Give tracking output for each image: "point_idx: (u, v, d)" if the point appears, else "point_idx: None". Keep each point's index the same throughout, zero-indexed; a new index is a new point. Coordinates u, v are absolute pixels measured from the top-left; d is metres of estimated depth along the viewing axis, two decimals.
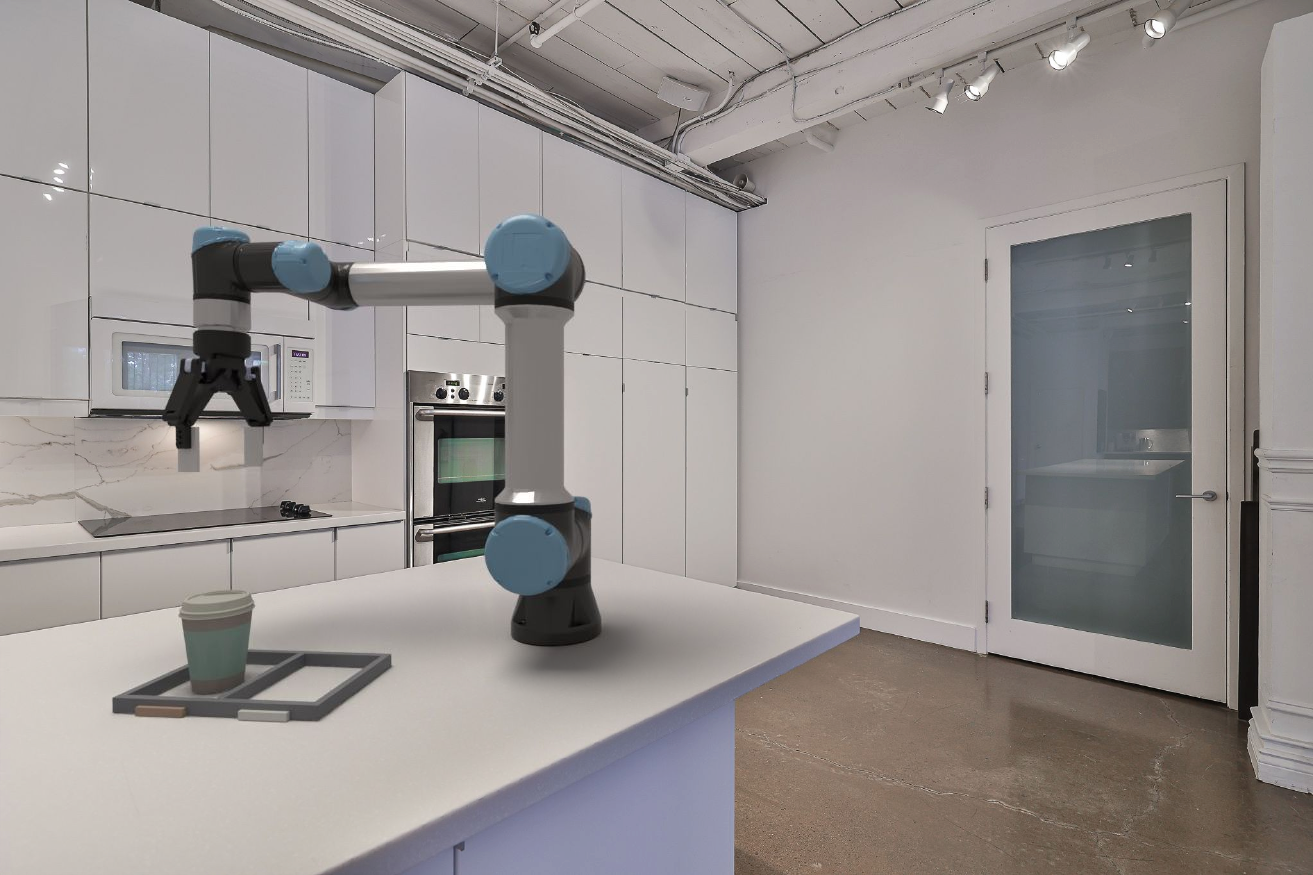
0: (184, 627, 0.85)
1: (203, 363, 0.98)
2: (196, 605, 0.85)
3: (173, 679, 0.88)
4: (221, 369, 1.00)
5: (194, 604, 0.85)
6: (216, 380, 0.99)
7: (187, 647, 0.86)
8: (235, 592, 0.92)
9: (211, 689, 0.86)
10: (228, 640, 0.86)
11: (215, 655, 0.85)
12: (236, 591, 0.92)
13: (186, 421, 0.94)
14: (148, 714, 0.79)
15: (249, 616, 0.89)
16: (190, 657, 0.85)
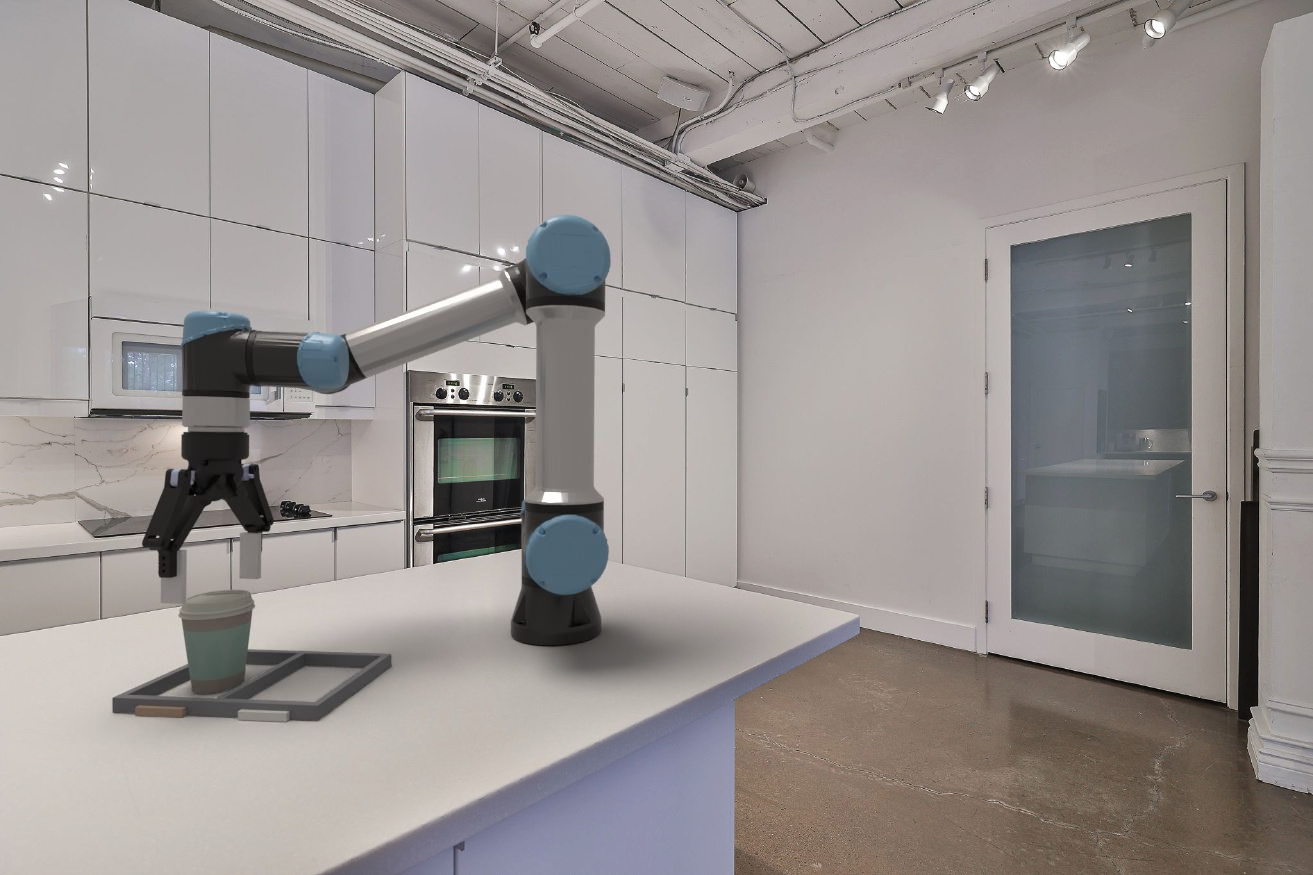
0: (184, 627, 0.85)
1: (193, 472, 0.84)
2: (196, 605, 0.85)
3: (173, 679, 0.88)
4: (214, 476, 0.86)
5: (194, 604, 0.85)
6: (208, 491, 0.85)
7: (187, 647, 0.86)
8: (235, 592, 0.92)
9: (211, 689, 0.86)
10: (228, 640, 0.86)
11: (215, 655, 0.85)
12: (236, 591, 0.92)
13: (171, 546, 0.80)
14: (148, 714, 0.79)
15: (249, 616, 0.89)
16: (190, 657, 0.85)
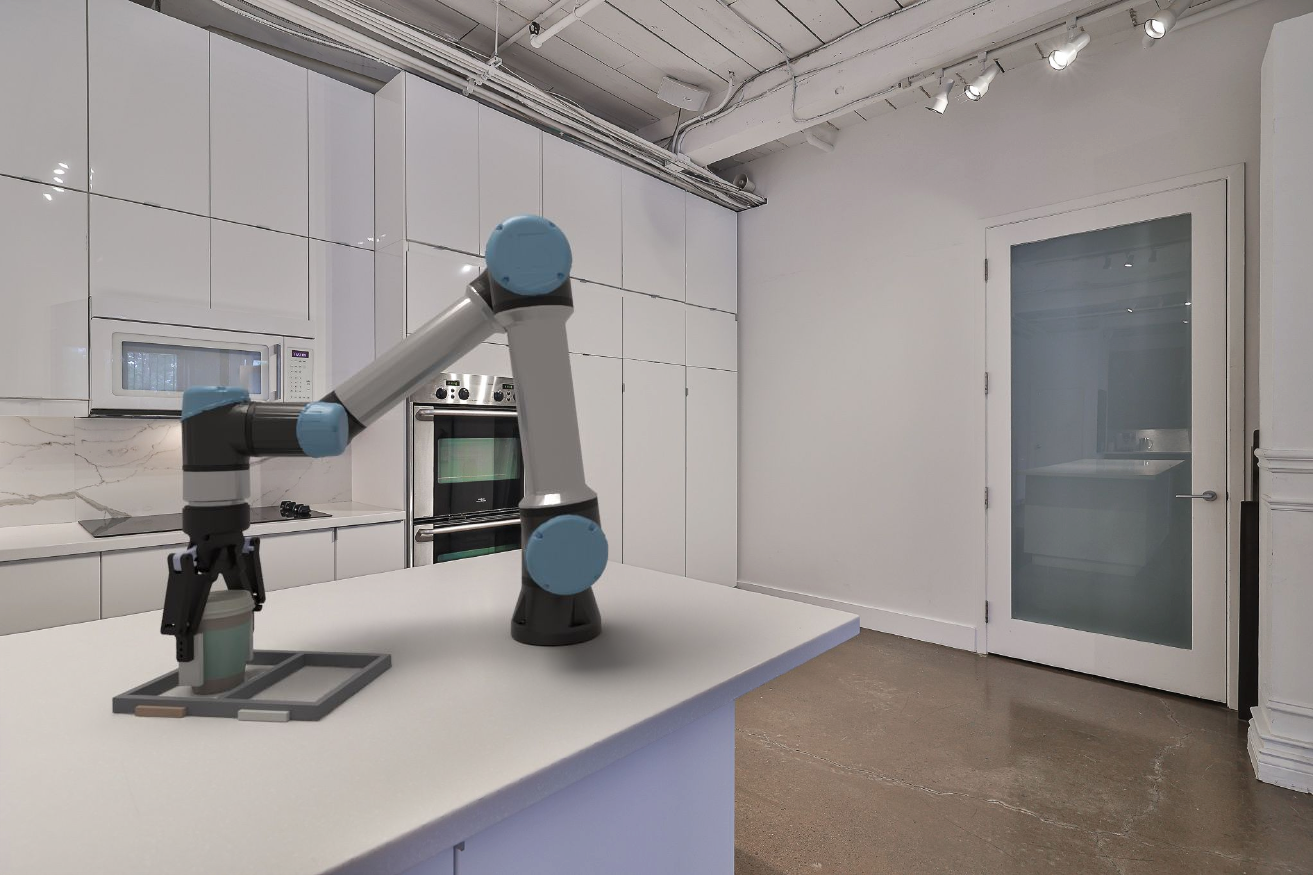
0: None
1: (194, 551, 0.84)
2: None
3: (173, 679, 0.88)
4: (215, 547, 0.86)
5: None
6: (212, 568, 0.85)
7: None
8: (235, 592, 0.92)
9: (211, 689, 0.86)
10: (228, 639, 0.86)
11: (215, 655, 0.85)
12: (236, 591, 0.92)
13: (188, 631, 0.82)
14: (148, 714, 0.79)
15: (249, 616, 0.89)
16: None
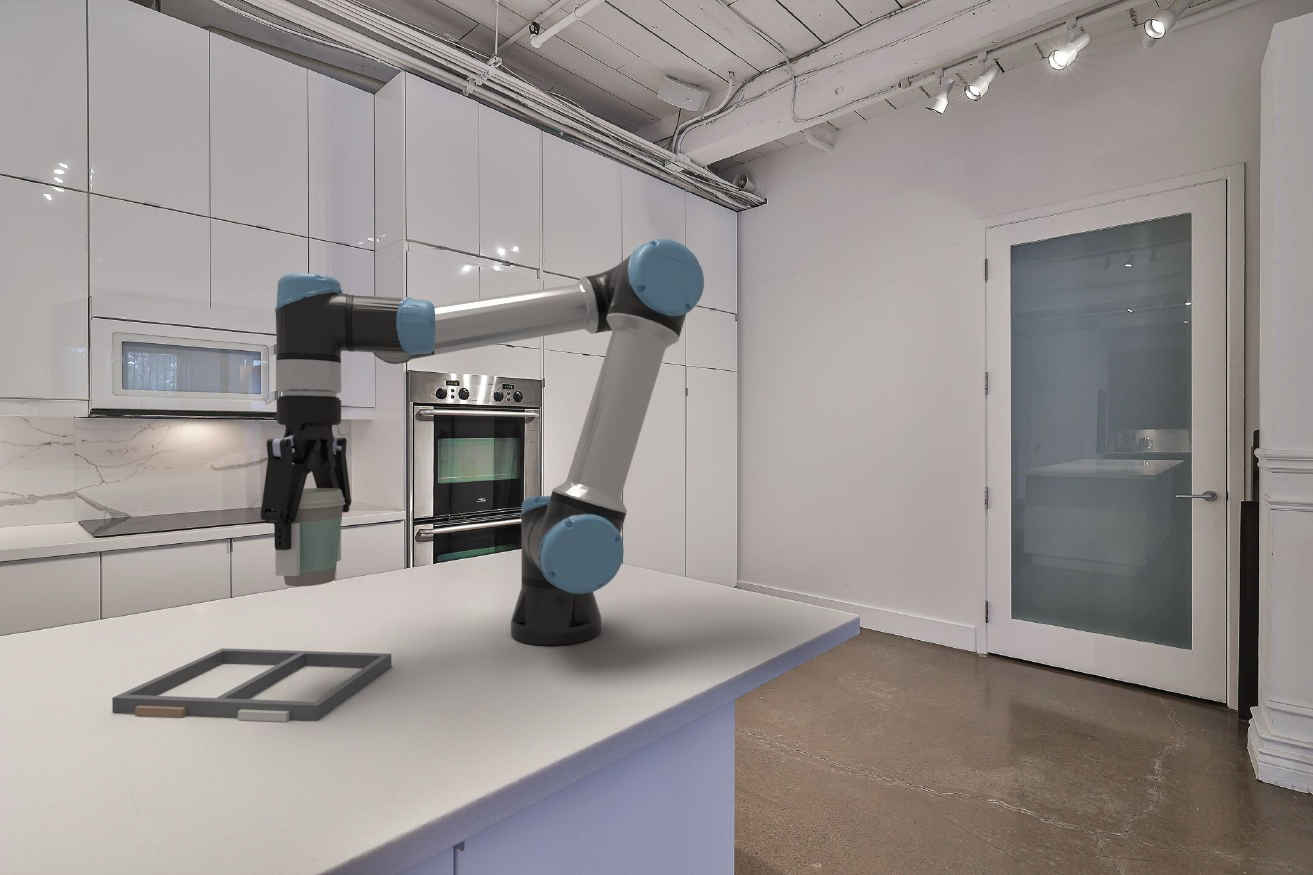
0: None
1: (291, 439, 0.83)
2: None
3: (173, 679, 0.88)
4: (310, 438, 0.85)
5: None
6: (307, 459, 0.84)
7: None
8: (324, 490, 0.90)
9: (306, 581, 0.84)
10: (322, 532, 0.85)
11: (310, 546, 0.84)
12: (325, 489, 0.90)
13: (287, 518, 0.81)
14: (148, 714, 0.79)
15: (341, 511, 0.88)
16: None
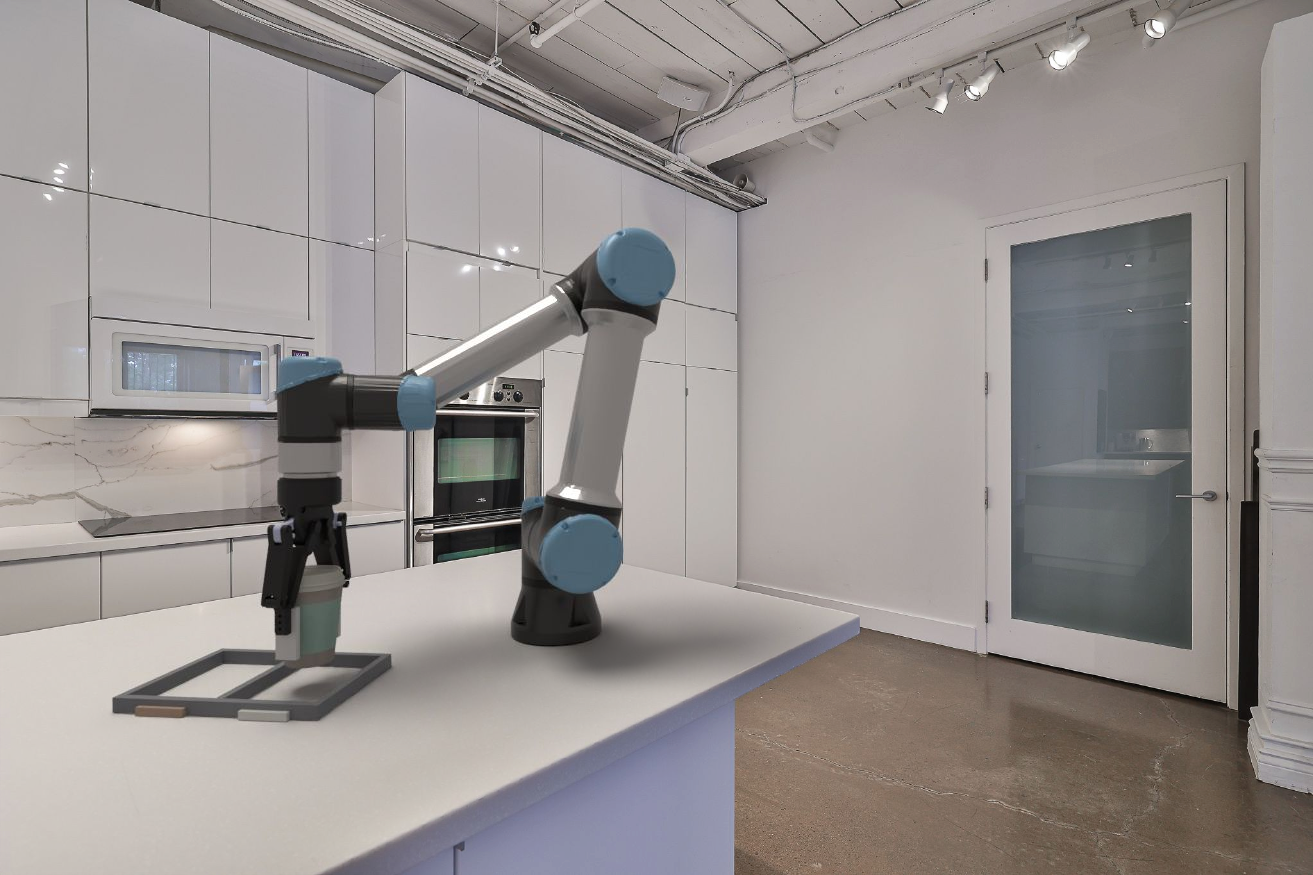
0: None
1: (291, 523, 0.83)
2: None
3: (173, 679, 0.88)
4: (310, 520, 0.85)
5: None
6: (308, 541, 0.84)
7: None
8: (324, 567, 0.90)
9: (305, 663, 0.85)
10: (322, 614, 0.85)
11: (310, 629, 0.84)
12: (325, 566, 0.90)
13: (287, 604, 0.81)
14: (148, 714, 0.79)
15: (341, 591, 0.88)
16: None
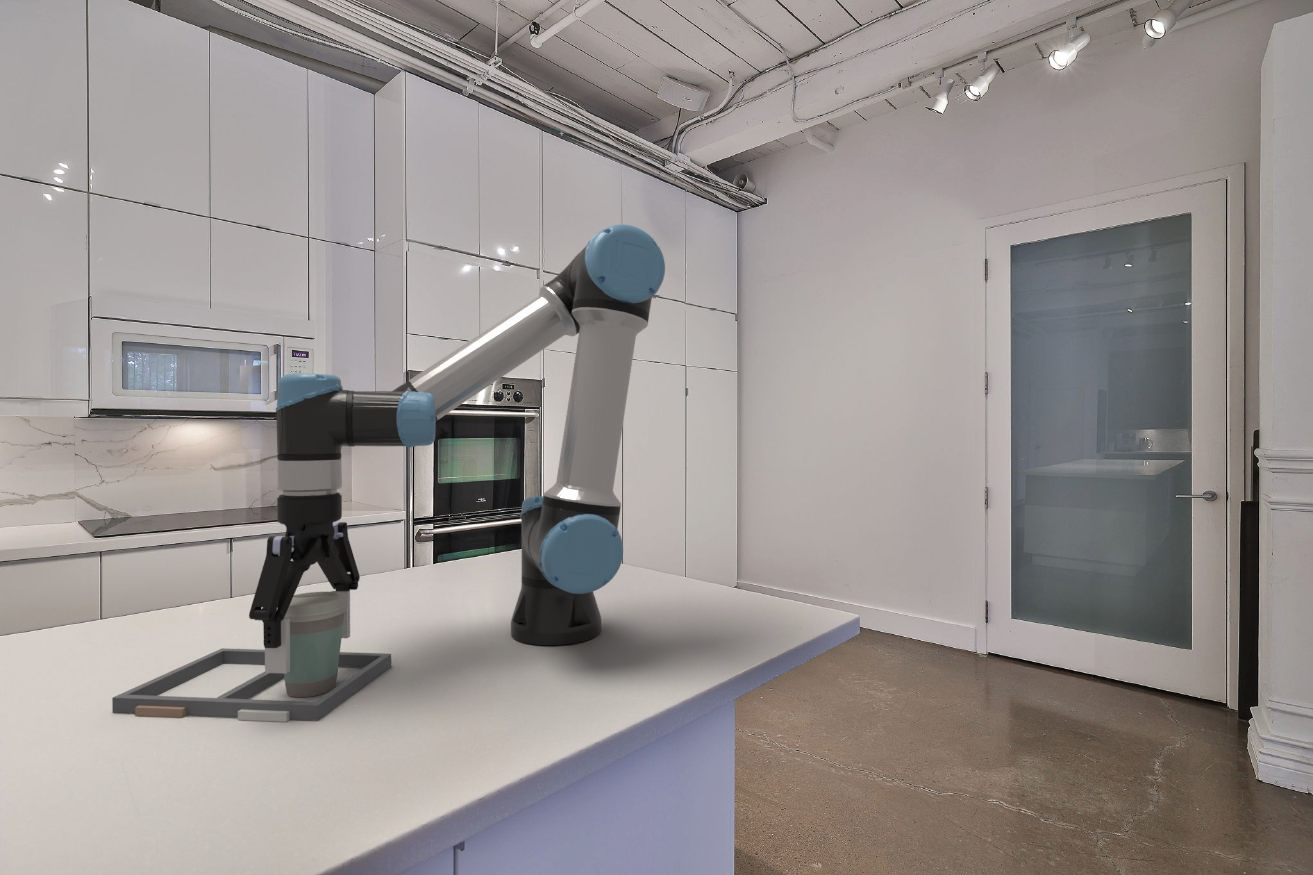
0: None
1: (292, 538, 0.83)
2: (294, 607, 0.84)
3: (173, 679, 0.88)
4: (310, 540, 0.85)
5: (291, 606, 0.84)
6: (306, 556, 0.84)
7: None
8: (325, 594, 0.91)
9: (307, 692, 0.85)
10: (324, 642, 0.85)
11: (311, 658, 0.84)
12: (326, 593, 0.91)
13: (276, 616, 0.79)
14: (148, 714, 0.79)
15: (342, 618, 0.88)
16: None
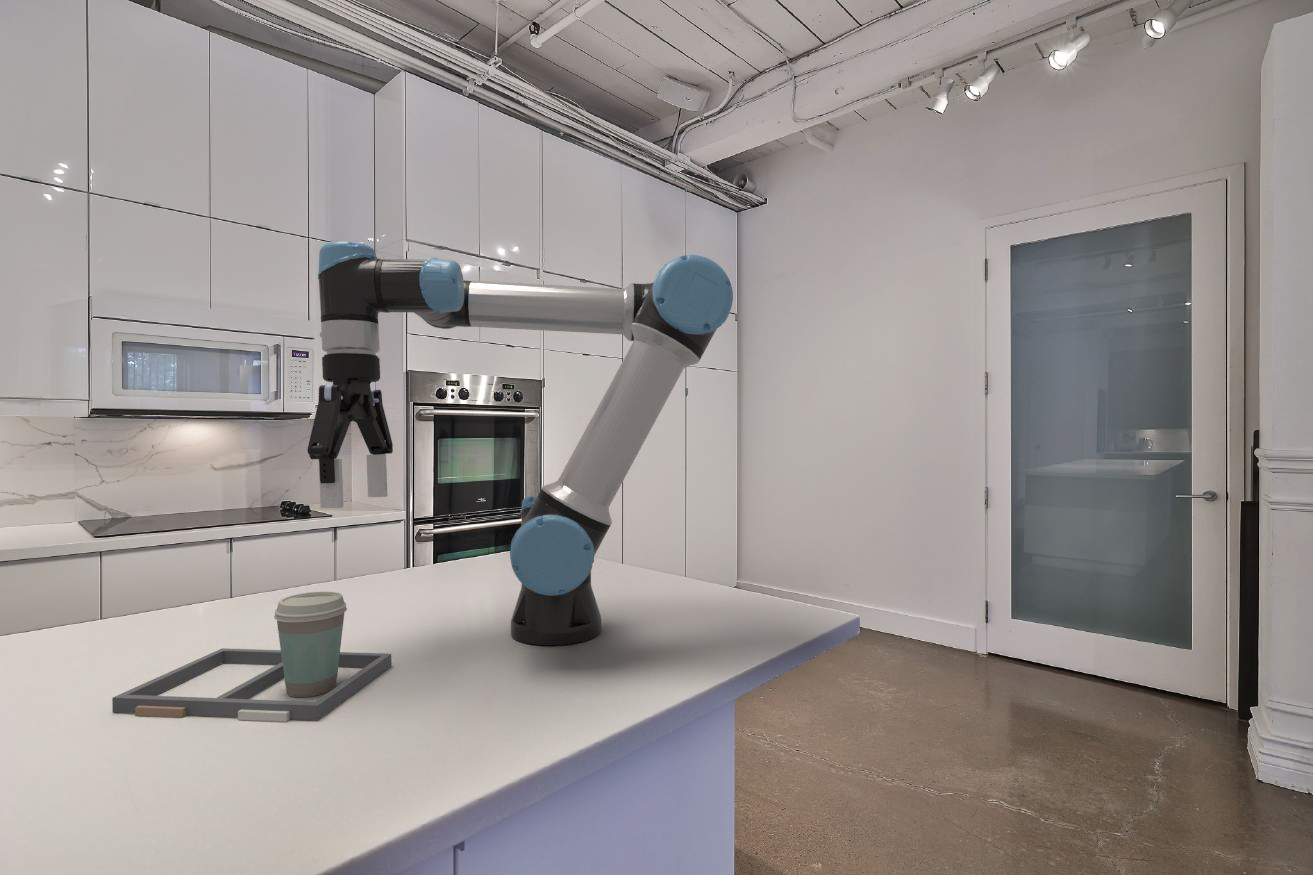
0: (281, 629, 0.84)
1: None
2: (294, 607, 0.84)
3: (173, 679, 0.88)
4: (354, 395, 0.93)
5: (291, 606, 0.84)
6: (352, 407, 0.92)
7: (283, 649, 0.85)
8: (325, 594, 0.91)
9: (307, 692, 0.85)
10: (324, 642, 0.85)
11: (312, 658, 0.84)
12: (326, 593, 0.91)
13: (331, 453, 0.87)
14: (148, 714, 0.79)
15: (342, 618, 0.88)
16: (286, 660, 0.85)
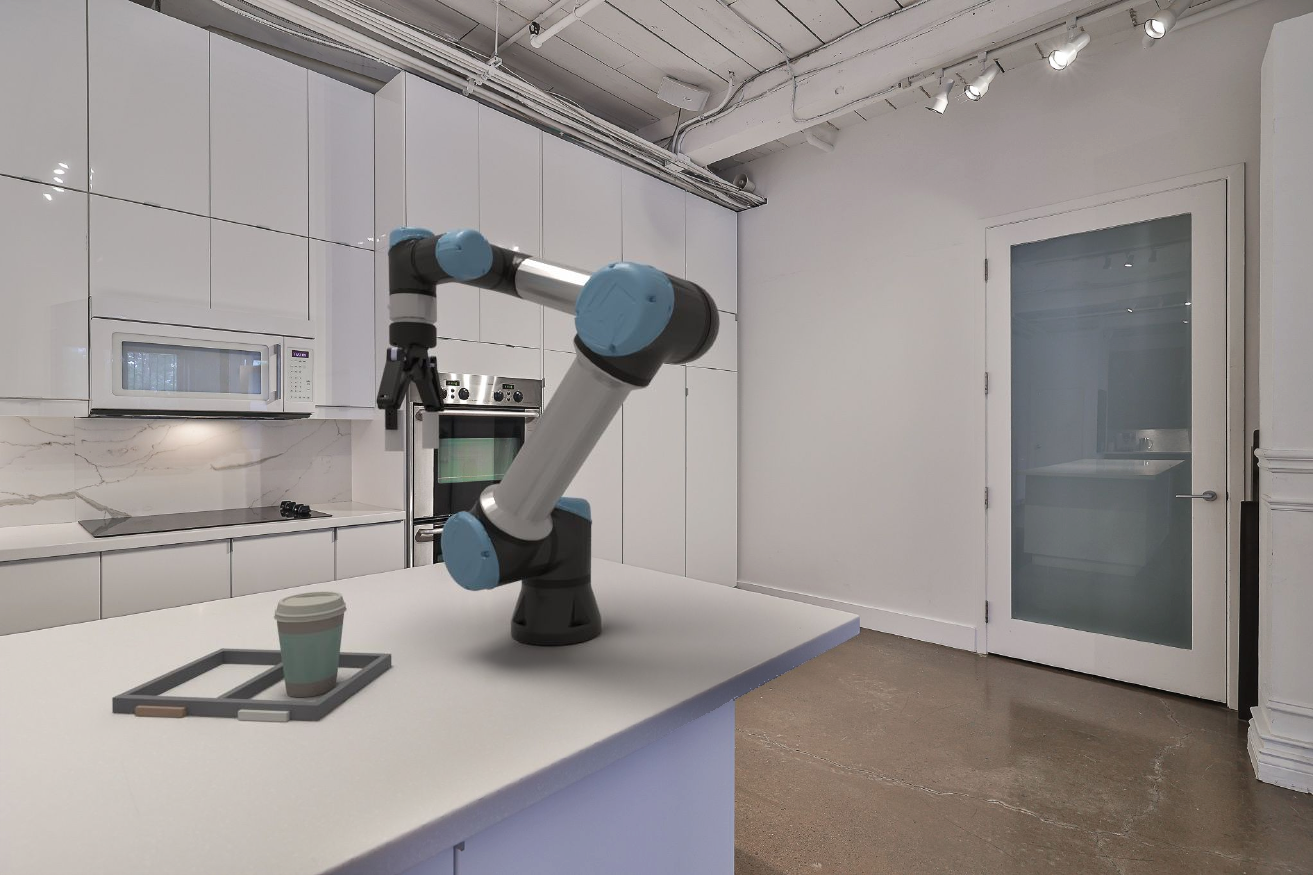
0: (280, 630, 0.84)
1: None
2: (294, 607, 0.84)
3: (173, 679, 0.88)
4: (415, 358, 1.10)
5: (291, 606, 0.84)
6: (413, 368, 1.08)
7: (283, 649, 0.85)
8: (325, 594, 0.91)
9: (307, 692, 0.85)
10: (324, 642, 0.85)
11: (311, 658, 0.84)
12: (326, 593, 0.91)
13: (395, 404, 1.03)
14: (148, 714, 0.79)
15: (342, 618, 0.88)
16: (286, 660, 0.85)
